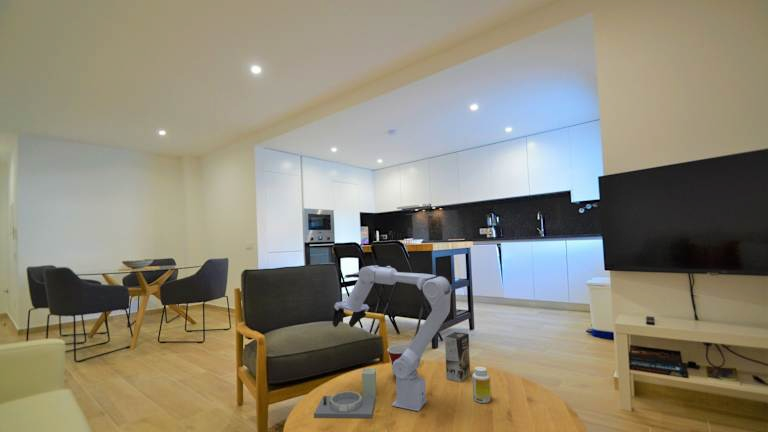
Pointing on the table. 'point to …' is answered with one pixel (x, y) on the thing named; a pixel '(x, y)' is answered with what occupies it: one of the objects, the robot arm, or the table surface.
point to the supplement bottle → (481, 385)
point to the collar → (343, 407)
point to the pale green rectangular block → (369, 382)
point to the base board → (361, 412)
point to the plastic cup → (397, 352)
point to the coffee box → (457, 356)
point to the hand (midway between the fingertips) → (342, 325)
